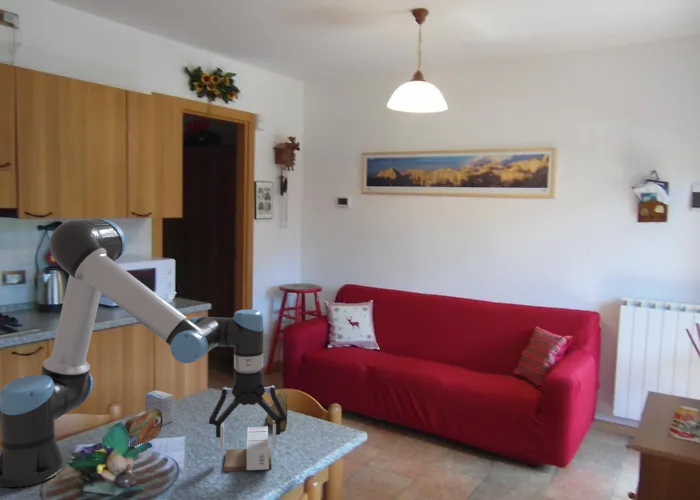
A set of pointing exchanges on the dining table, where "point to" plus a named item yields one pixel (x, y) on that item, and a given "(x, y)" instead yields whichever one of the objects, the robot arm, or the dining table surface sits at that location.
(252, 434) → the syrup box
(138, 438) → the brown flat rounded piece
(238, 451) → the walnut board
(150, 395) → the medicine box
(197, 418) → the dining table surface
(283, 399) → the rock
